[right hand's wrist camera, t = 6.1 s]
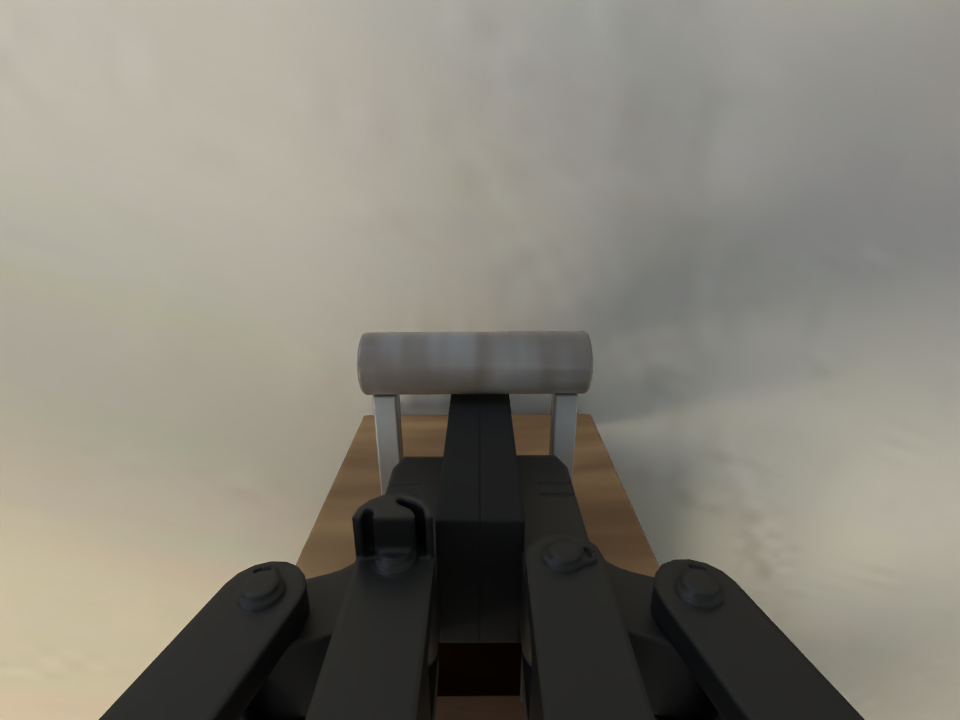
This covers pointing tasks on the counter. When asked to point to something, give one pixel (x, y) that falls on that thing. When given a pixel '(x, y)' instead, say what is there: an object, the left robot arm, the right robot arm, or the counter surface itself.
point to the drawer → (391, 436)
